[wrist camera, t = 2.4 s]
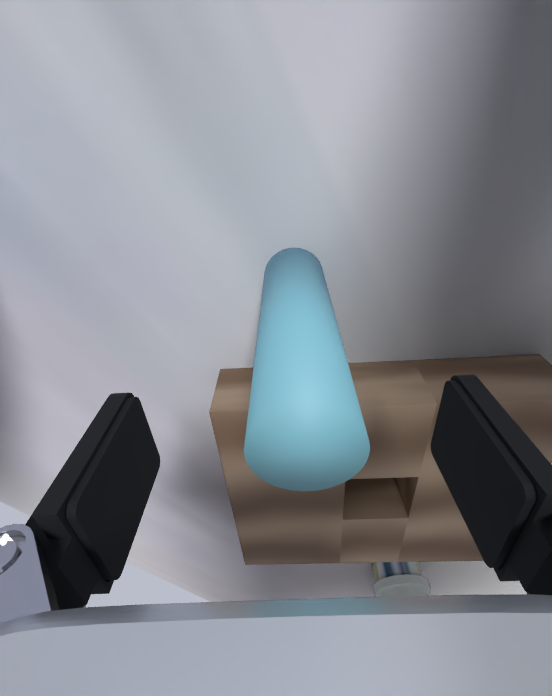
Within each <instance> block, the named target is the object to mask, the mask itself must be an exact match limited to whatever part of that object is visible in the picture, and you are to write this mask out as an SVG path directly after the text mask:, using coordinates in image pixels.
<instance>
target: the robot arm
mask: <svg viewBox="0 0 552 696" xmlns="http://www.w3.org/2000/svg"><path fill="white" fill-rule="evenodd" d="M431 453H432V456H433V458H434V460H435V462H436V464H437V466H438V468H439V470H440V472H441V474H442V476H443V478H444V480H445V482H446V484H447V486H448V488H449V490H450V493H451V495H452V497H453V499H454V501H455V503H456V505H457V507H458V509H459V511H460V513H461V515H462V517H463V519H464V521H465V523H466V525H467V527H468V529H469V531H470V533H471V535H472V537H473V540H474V542H475V544H476V546H477V548H478V550H479V552H480V554H481V556H482V558H483V560H484V562H485V563H486V565H487V566H488V567H490V568H494V570H495V572H496V574H497V576H498V578H499V580H500V581H520V583H521V584H522V586H523V588H524V590H525V591H526V592H527V595H442V596H402V597H361V598H327V599H293V600H260V601H229V602H201V603H175V604H174V603H173V604H145V605H125V606H106V607H88V608H86V606H85V605H86V604H87V602H88V600H89V597H90V595H91V594H105V593H109V592H110V590H111V587H112V584H113V581H114V580H117V579H118V578H119V577H120V576H121V574H122V571H123V568H124V566H125V563H126V560H127V557H128V554H129V551H130V549H131V546H132V543H133V540H134V537H135V535H136V532H137V529H138V526H139V523H140V521H141V518H142V515H143V512H144V509H145V507H146V504H147V501H148V498H149V495H150V492H151V490H152V487H153V484H154V481H155V478H156V476H157V473H158V470H159V467H160V456H159V453H158V450H157V447H156V444H155V442H154V439H153V436H152V433H151V430H150V428H149V425H148V422H147V419H146V416H145V413H144V411H143V408H142V405H141V402H140V400H139V398H138V397H134V396H133V394H132V393H115V394H111V395H110V396H109V397H108V398H107V400H106V401H105V403H104V404H103V406H102V407H101V409H100V410H99V412H98V414H97V415H96V417H95V418H94V420H93V421H92V423H91V424H90V426H89V427H88V429H87V431H86V432H85V434H84V435H83V437H82V438H81V440H80V441H79V443H78V444H77V446H76V447H75V449H74V450H73V452H72V454H71V455H70V457H69V458H68V460H67V461H66V463H65V464H64V466H63V467H62V469H61V471H60V472H59V474H58V475H57V477H56V478H55V480H54V481H53V483H52V484H51V486H50V487H49V489H48V491H47V492H46V494H45V495H44V497H43V498H42V500H41V501H40V503H39V504H38V506H37V507H36V509H35V511H34V512H33V514H32V515H31V517H30V518H29V520H28V521H27V523H26V525H24V524H13V525H9V526H5V527H2V528H0V696H552V465H551V464H550V462H549V461H548V460H547V459H546V458H545V456H544V455H543V454H542V453H541V452H540V450H539V449H538V448H537V447H536V446H535V444H534V443H533V442H532V441H531V440H530V439H529V437H528V436H527V435H526V434H525V433H524V431H523V430H522V429H521V428H520V427H519V425H518V424H517V423H516V422H515V421H514V420H513V419H512V418H511V417H510V415H509V414H508V413H507V412H506V411H505V409H504V408H503V407H502V406H501V405H500V403H499V402H498V401H497V400H496V399H495V397H494V396H493V395H492V394H491V393H490V391H489V390H488V389H487V388H486V387H485V386H484V384H483V383H482V382H481V381H480V380H479V378H478V377H477V376H476V375H473V374H472V375H454V376H452V377H451V379H450V381H446V382H445V385H444V389H443V393H442V397H441V402H440V406H439V410H438V414H437V419H436V423H435V427H434V432H433V436H432V440H431Z"/></svg>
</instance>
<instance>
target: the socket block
mask: <svg viewBox="0 0 552 696" xmlns="http://www.w3.org/2000/svg"><path fill="white" fill-rule="evenodd" d="M348 365H349V369H350V372H351V376H352V380H353V383H354V387H355V391H356V394H357V398H358V402H359V405H360V409H361V413H362V416H363V420H364V424H365V427H366V431H367V435H368V438H369V443H370V453H369V457H368V459H367V462H366V463H365V465H364V466H363V468H362V469H361V470H360V471H359V472H358V473H357V474H356V475H355V476H354V477H352V478H351V479H349V480H347V481H346V482H344V483H342V484H339V485H337V486H334V487H331V488H328V489H323V490H317V491H293V490H287V489H283V488H279V487H276V486H274V485H271V484H269V483H267V482H265V481H264V480H262V479H260V478H259V477H258V476H257V475H255V473H254V472H253V471H252V470H251V469H250V468H249V466H248V464H247V462H246V460H245V456H244V444H245V435H246V427H247V418H248V410H249V401H250V393H251V384H252V376H253V368H238V369H220V373H219V377H218V381H217V385H216V388H215V392H214V396H213V400H212V404H211V408H210V412H209V413H210V417H211V422H212V426H213V430H214V434H215V438H216V443H217V447H218V451H219V455H220V460H221V464H222V468H223V472H224V476H225V481H226V485H227V489H228V493H229V498H230V502H231V506H232V510H233V514H234V519H235V523H236V527H237V531H238V535H239V540H240V544H241V548H242V552H243V557H244V561H245V565H251V564H309V563H368V562H426V561H484V560H483V558H482V556H481V554H480V552H479V550H478V548H477V546H476V544H475V542H474V540H473V537H472V535H471V533H470V531H469V529H468V527H467V525H466V523H465V521H464V519H463V517H462V515H461V513H460V511H459V509H458V507H457V505H456V503H455V501H454V499H453V497H452V495H451V493H450V490H449V488H448V486H447V484H446V482H445V480H444V478H443V476H442V474H441V472H440V470H439V468H438V466H437V464H436V462H435V460H434V458H433V456H432V453H431V440H432V436H433V432H434V427H435V423H436V419H437V414H438V410H439V406H440V402H441V397H442V393H443V389H444V385H445V382H446V381H450V379H451V377H452V376H454V375H472V374H473V375H476V376H477V377H478V378H479V380H480V381H481V382H482V383H483V384H484V386H485V387H486V388H487V389H488V390H489V391H490V393H491V394H492V395H493V396H494V397H495V399H496V400H497V401H498V402H499V403H500V405H501V406H502V407H503V408H504V409H505V411H506V412H507V413H508V414H509V415H510V417H511V418H512V419H513V420H514V421H515V422H516V423H517V424H518V425H519V427H520V428H521V429H522V430H523V431H524V433H525V434H526V435H527V436H528V437H529V439H530V440H531V441H532V442H533V443H534V444H535V446H536V447H537V448H538V449H539V450H540V452H541V453H542V454H543V455H544V456H545V458H546V459H547V460H548V461H549V462H550V464H551V462H552V365H551V364H550V363H549V362H547V361H546V360H545V359H544V358H543V357H542V356H541V355H519V356H498V357H476V358H454V359H433V360H411V361H389V362H368V363H348Z"/></svg>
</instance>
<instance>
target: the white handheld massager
mask: <svg viewBox="0 0 552 696" xmlns="http://www.w3.org/2000/svg"><path fill="white" fill-rule="evenodd" d="M372 565H373V570H374V575H375V580H376V583H375V584H374V585H373V588H374V593H375V597H402V596H425V595H427V594H429V593H430V584H429V581H428V579H426V578H424V577H423V574H422V571H421V568H420V564H419V562H372Z"/></svg>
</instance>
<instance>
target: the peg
mask: <svg viewBox="0 0 552 696" xmlns="http://www.w3.org/2000/svg"><path fill="white" fill-rule="evenodd" d="M369 453H370V443H369V438H368V435H367V431H366V427H365V424H364V420H363V416H362V413H361V409H360V405H359V402H358V398H357V394H356V391H355V387H354V383H353V380H352V376H351V372H350V369H349V365H348V361H347V358H346V354H345V350H344V347H343V343H342V339H341V336H340V332H339V328H338V325H337V321H336V317H335V314H334V310H333V306H332V303H331V299H330V295H329V292H328V288H327V284H326V281H325V277H324V273H323V270H322V266H321V264H320V262H319V260H318V259H317V258H316V257H315V256H314V255H313V254H312V253H310V252H309V251H307V250H304V249H301V248H288V249H284V250H282V251H280V252H278V253H277V254H275V255H274V256H273V257H272V258H271V259H270V261H269V262H268V264H267V266H266V269H265V274H264V283H263V291H262V300H261V308H260V317H259V325H258V334H257V342H256V351H255V359H254V368H253V376H252V384H251V393H250V401H249V410H248V418H247V427H246V435H245V444H244V456H245V460H246V462H247V464H248V466H249V468H250V469H251V470H252V471H253V472H254V473H255V475H257V476H258V477H259V478H260V479H262V480H264V481H265V482H267V483H269V484H271V485H274V486H276V487H279V488H283V489H287V490H293V491H317V490H323V489H328V488H331V487H334V486H337V485H339V484H342V483H344V482H346V481H347V480H349V479H351V478H352V477H354V476H355V475H356V474H357V473H358V472H359V471H360V470H361V469H362V468H363V466H364V465H365V463H366V462H367V459H368V457H369Z"/></svg>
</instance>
